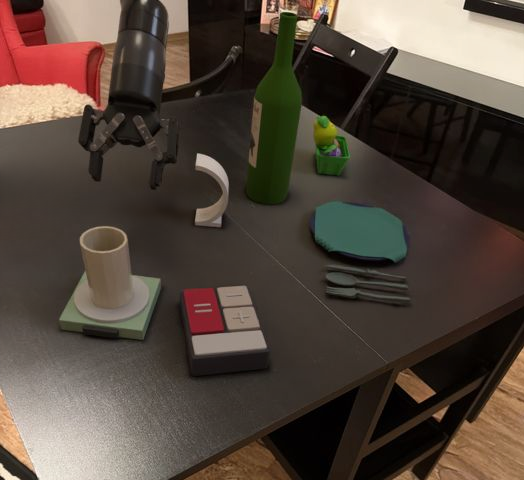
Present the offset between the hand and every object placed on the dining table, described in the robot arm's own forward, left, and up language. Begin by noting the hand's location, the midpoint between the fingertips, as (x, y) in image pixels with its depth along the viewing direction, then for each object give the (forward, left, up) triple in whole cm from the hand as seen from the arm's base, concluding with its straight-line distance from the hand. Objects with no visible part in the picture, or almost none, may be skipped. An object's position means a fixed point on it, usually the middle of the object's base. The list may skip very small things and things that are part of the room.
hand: (124, 184), depth 72 cm
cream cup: (0, -12, -12) cm, 17 cm away
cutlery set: (+40, +12, -15) cm, 44 cm away
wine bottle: (+21, +29, -15) cm, 39 cm away
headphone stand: (+11, +16, -15) cm, 25 cm away
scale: (0, -12, -14) cm, 19 cm away
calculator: (+17, -15, -15) cm, 27 cm away
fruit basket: (+34, +46, -15) cm, 59 cm away
